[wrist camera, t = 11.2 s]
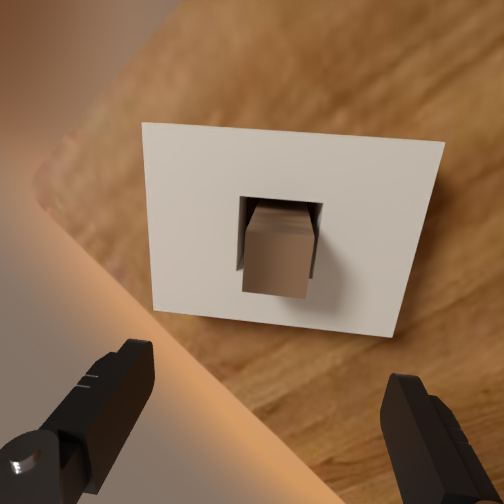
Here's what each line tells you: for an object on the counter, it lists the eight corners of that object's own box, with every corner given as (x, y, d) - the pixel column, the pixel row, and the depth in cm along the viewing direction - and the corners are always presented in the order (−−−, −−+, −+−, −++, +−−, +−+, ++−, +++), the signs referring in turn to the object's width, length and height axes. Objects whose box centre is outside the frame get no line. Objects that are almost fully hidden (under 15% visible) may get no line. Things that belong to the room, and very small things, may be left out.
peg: (306, 201, 27) (314, 238, 18) (300, 244, 29) (305, 299, 20) (260, 197, 28) (245, 231, 18) (256, 239, 29) (241, 291, 20)
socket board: (416, 139, 25) (445, 142, 20) (376, 305, 30) (392, 337, 26) (167, 123, 26) (141, 122, 22) (173, 283, 32) (153, 310, 27)
